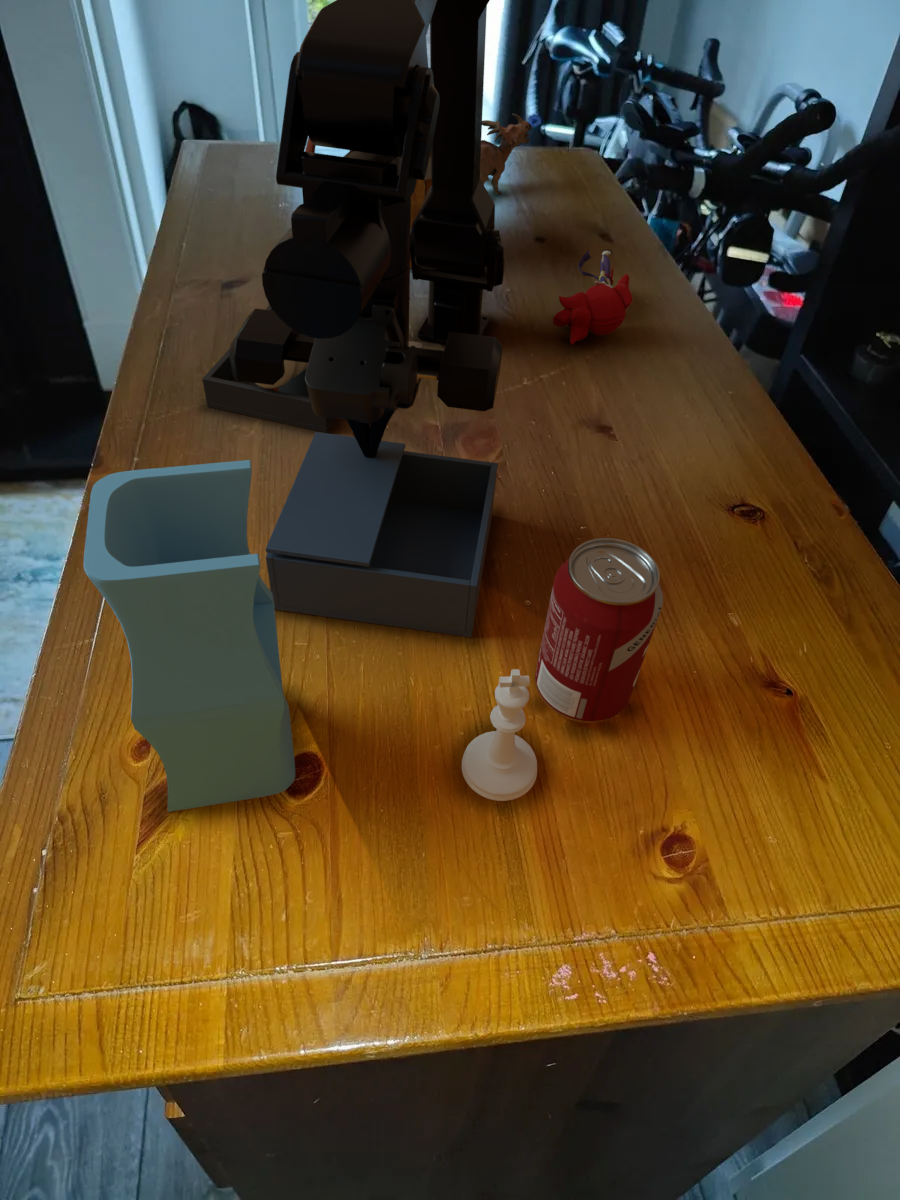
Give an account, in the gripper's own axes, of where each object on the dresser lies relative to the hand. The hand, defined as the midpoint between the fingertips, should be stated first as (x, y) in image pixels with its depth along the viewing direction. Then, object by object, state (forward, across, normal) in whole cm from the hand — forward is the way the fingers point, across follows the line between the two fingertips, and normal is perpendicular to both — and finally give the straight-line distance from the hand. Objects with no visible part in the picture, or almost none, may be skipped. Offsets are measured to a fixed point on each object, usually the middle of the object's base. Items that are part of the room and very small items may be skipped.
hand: (370, 454), depth 66 cm
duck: (+3, -11, +23) cm, 26 cm away
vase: (+6, -4, -24) cm, 25 cm away
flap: (0, -1, -5) cm, 5 cm away
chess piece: (+6, +13, -23) cm, 27 cm away
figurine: (+6, +17, +37) cm, 42 cm away
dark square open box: (+6, +2, -5) cm, 8 cm away
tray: (+6, -11, +19) cm, 23 cm away
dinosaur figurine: (+6, +1, +70) cm, 70 cm away
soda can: (+6, +18, -15) cm, 25 cm away
